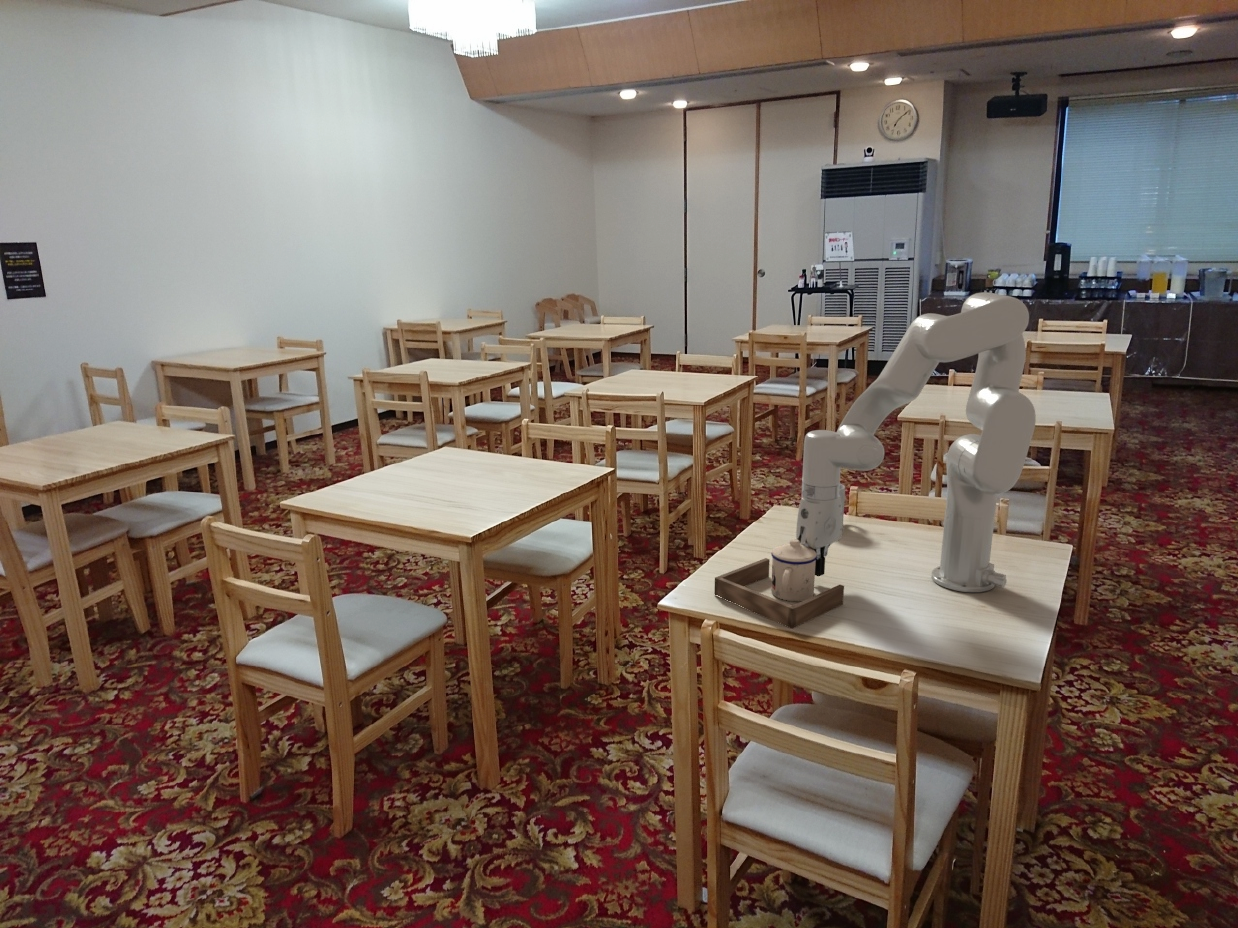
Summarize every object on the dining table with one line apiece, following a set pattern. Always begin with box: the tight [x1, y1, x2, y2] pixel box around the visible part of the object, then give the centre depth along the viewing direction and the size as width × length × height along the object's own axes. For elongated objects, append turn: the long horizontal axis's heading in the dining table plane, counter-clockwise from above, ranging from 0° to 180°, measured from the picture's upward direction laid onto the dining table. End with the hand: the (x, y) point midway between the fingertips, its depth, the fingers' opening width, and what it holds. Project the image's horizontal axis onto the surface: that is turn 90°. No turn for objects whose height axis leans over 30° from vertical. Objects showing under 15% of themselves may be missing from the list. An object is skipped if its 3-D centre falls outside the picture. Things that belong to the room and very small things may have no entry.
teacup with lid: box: [770, 538, 817, 602], centre depth 172 cm, size 12×9×12 cm
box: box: [713, 557, 845, 629], centre depth 172 cm, size 20×16×4 cm
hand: (815, 573), depth 179 cm, fingers closed
